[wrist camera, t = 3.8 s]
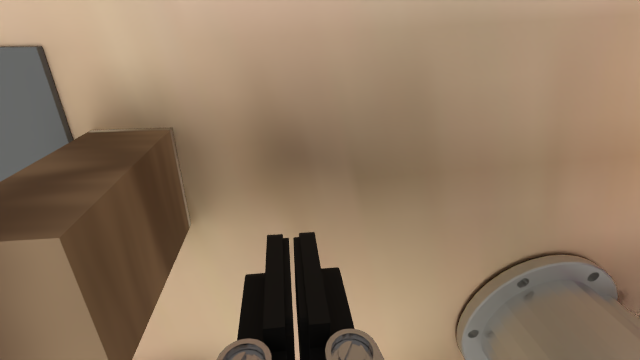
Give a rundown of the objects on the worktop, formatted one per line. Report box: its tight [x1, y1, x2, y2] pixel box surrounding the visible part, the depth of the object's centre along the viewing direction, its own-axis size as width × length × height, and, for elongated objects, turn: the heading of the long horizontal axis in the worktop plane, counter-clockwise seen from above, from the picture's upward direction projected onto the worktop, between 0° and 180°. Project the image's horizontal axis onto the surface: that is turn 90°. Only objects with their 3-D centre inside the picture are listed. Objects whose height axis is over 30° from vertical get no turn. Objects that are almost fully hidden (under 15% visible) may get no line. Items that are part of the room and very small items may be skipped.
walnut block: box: [0, 128, 191, 360], centre depth 14 cm, size 4×6×10 cm, turn 0°
